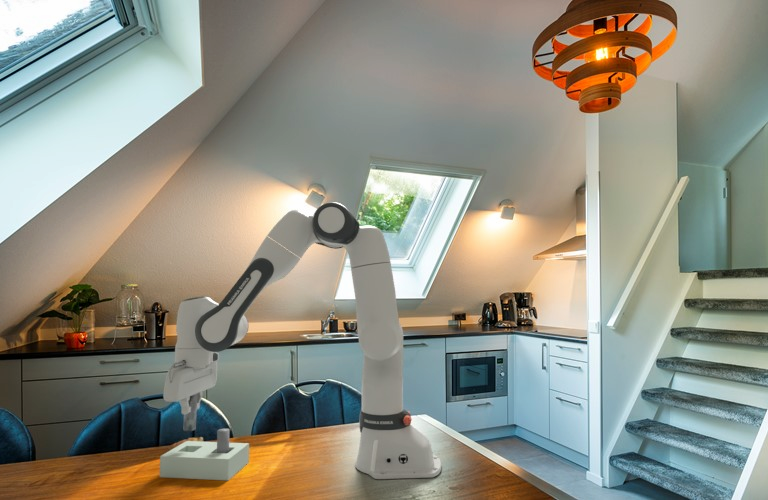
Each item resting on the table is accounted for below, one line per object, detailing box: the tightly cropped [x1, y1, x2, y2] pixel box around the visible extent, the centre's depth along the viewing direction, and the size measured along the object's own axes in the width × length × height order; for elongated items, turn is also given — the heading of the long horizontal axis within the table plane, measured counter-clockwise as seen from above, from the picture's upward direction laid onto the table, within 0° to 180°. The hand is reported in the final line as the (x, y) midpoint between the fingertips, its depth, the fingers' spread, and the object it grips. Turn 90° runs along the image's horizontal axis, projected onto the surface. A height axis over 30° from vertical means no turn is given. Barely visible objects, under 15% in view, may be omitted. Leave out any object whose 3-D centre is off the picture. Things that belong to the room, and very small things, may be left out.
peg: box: [182, 394, 198, 432], centre depth 122 cm, size 3×3×10 cm
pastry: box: [167, 436, 204, 451], centre depth 134 cm, size 9×7×4 cm
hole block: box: [159, 428, 250, 481], centre depth 120 cm, size 18×12×10 cm, turn 83°
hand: (190, 411), depth 121 cm, fingers closed on peg, 3 cm apart
